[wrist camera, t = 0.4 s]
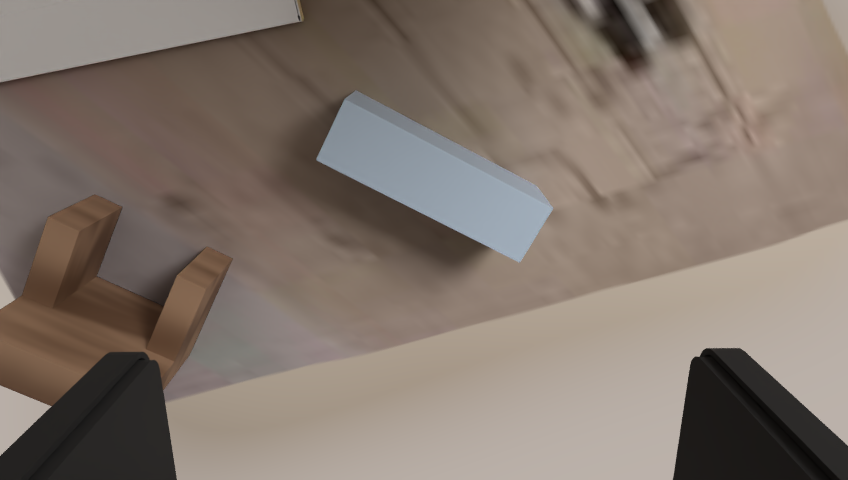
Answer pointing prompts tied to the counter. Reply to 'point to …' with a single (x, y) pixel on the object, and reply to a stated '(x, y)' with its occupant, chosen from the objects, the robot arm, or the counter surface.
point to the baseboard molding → (121, 28)
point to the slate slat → (434, 176)
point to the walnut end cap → (95, 308)
